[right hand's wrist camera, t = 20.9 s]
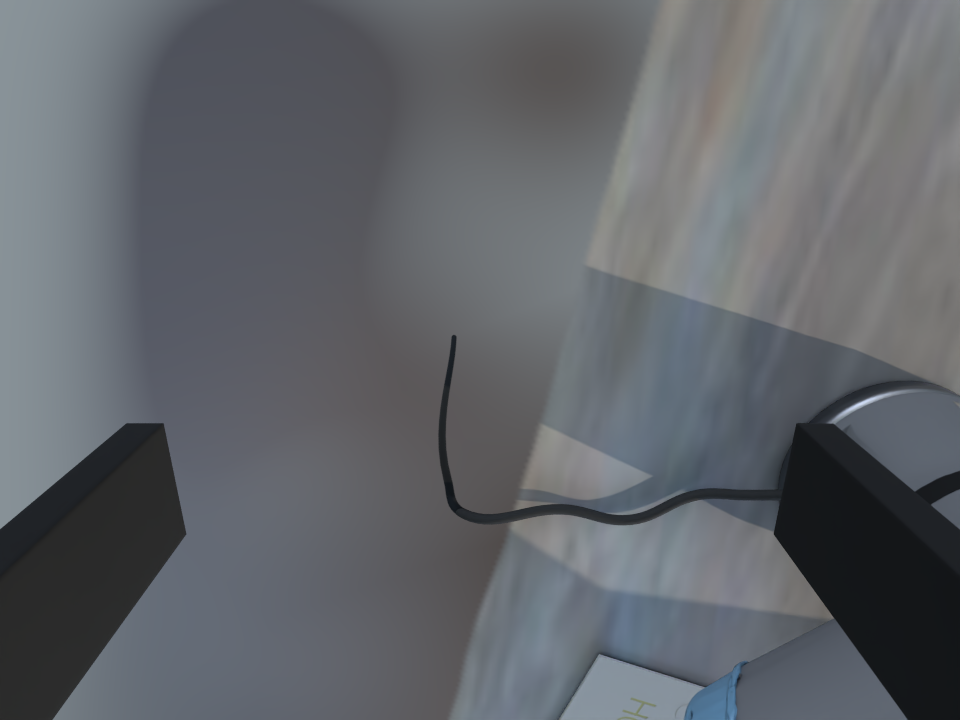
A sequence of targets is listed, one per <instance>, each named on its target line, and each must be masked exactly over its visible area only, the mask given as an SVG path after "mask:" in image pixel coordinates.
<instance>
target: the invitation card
mask: <svg viewBox="0 0 960 720" xmlns="http://www.w3.org/2000/svg"><path fill="white" fill-rule="evenodd" d="M704 688H705V687H702V686H699V685H696V684H693V683H690V682H686V681H683V680H680V679H677V678H674V677H670V676H667V675H664V674H661V673H658V672H654V671H651V670H648V669H645V668H642V667H639V666H635V665H632V664H629V663H626V662H623V661H619V660H616V659H613V658H610V657H607V656H604V655H600V654H599V655H598V657H597V658H596V660H595V662H594V663H593V665H592V666H591V668H590V670H589V671H588V673H587V675H586V676H585V678H584V679H583V681H582V683H581V684H580V686H579V688H578V689H577V691H576V692H575V694H574V696H573V697H572V699H571V701H570V702H569V704H568V705H567V707H566V709H565V710H564V712H563V714H562V715H561V717H560V718H559V720H684V716H685V711H686V708H687V706H688V704H689V702H690V701H691V699H692V698H693V697H694V695H695V694H696V693H698V692H699V691H700V690H702V689H704Z"/></svg>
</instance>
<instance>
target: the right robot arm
mask: <svg viewBox="0 0 960 720" xmlns="http://www.w3.org/2000/svg"><path fill="white" fill-rule="evenodd" d="M456 340H457V337H456V335H452V337H451V348H450V355H449V361H448V367H447V372H446V378H445V383H444V389H443V394H442V400H441V407H440V416H439V430H438V445H439V457H440V466H441V471H442V476H443V480H444V485H445V492H446V498H447V502H448V505H449V507H450V508H451V510H452V511H453V512H454V513H455V514H456V515H458V516H459V517H461V518H463V519H465V520H467V521H470V522H474V523H478V524H502V523H508V522H513V521H518V520H522V519H527V518H531V517H537V516H543V515H553V514H564V515H573V516H578V517H583V518H587V519H590V520H594V521H597V522H601V523H606V524H612V525H633V524H639V523H643V522H647V521H650V520H652V519H655V518H657V517H659V516H661V515H663V514H665V513H667V512H669V511H671V510H673V509H675V508H677V507H679V506H681V505H683V504H686V503H689V502H692V501H696V500H702V499H730V500H779V502H780V506H779V511H778V516H777V521H776V525H775V530H774V535H775V537H776V538H777V539H778V541H779V542H780V544H781V545H782V546H783V548H784V549H785V551H786V552H787V553H788V555H789V556H790V557H791V559H792V560H793V562H794V563H795V564H796V566H797V567H798V569H799V570H800V571H801V573H802V574H803V575H804V577H805V578H806V580H807V581H808V582H809V584H810V585H811V587H812V588H813V589H814V591H815V592H816V593H817V595H818V596H819V598H820V599H821V600H822V602H823V603H824V605H825V606H826V607H827V609H828V610H829V611H830V613H831V614H832V616H833V617H834V619H832V620H831V621H829V622H827V623H825V624H823V625H821V626H819V627H817V628H815V629H813V630H811V631H809V632H807V633H805V634H803V635H801V636H799V637H798V638H796V639H794V640H792V641H790V642H788V643H786V644H784V645H782V646H780V647H778V648H776V649H774V650H772V651H770V652H768V653H766V654H765V655H763V656H761V657H759V658H757V659H755V660H753V661H751V662H747V661H743V662H740V663H739V664H737V665H736V666H735V667H734V669H733V671H732V672H730V673H729V674H727V675H725V676H724V677H722V678H720V679H719V680H717V681H715V682H714V683H712V684H710V685H709V686H707V687H705V688H704V689H702V690H700V691H699V692H698V693H696V694H695V695H694V697H693V698H692V699H691V701H690V702H689V704H688V706H687V708H686V711H685V716H684V720H960V396H959V395H957V394H956V393H954V392H952V391H950V390H948V389H946V388H943V387H941V386H937V385H934V384H930V383H924V382H916V381H897V382H888V383H883V384H878V385H874V386H871V387H867V388H864V389H862V390H859V391H856V392H854V393H852V394H850V395H847V396H845V397H844V398H842V399H840V400H838V401H836V402H835V403H833V404H832V405H830V406H829V407H827V408H826V409H825V410H823V411H822V412H821V413H819V414H818V415H817V416H816V417H815V418H814V419H813V420H812V421H810V423H797V424H796V428H795V433H794V438H793V443H792V445H791V447H790V449H789V451H788V453H787V455H786V457H785V460H784V462H783V465H782V469H781V472H780V477H779V487H778V490H733V489H716V488H711V489H700V490H694V491H690V492H686V493H683V494H681V495H678V496H676V497H674V498H671V499H669V500H667V501H666V502H664V503H662V504H660V505H658V506H656V507H654V508H652V509H650V510H647V511H644V512H641V513H637V514H632V515H612V514H606V513H602V512H598V511H595V510H591V509H587V508H583V507H579V506H574V505H564V504H551V505H541V506H535V507H530V508H525V509H520V510H516V511H511V512H506V513H500V514H479V513H475V512H471V511H469V510H466V509H464V508H463V507H461V506H460V505H459V503H458V502H457V500H456V497H455V493H454V487H453V482H452V478H451V473H450V469H449V465H448V458H447V450H446V418H447V407H448V399H449V392H450V385H451V379H452V373H453V367H454V360H455V352H456ZM185 535H186V531H185V525H184V521H183V516H182V511H181V506H180V501H179V496H178V492H177V487H176V482H175V477H174V472H173V467H172V462H171V458H170V453H169V448H168V443H167V438H166V433H165V429H164V424H163V423H127V424H125V425H124V426H123V427H122V428H121V429H119V430H118V431H117V432H116V433H115V434H113V435H112V436H111V437H110V438H109V439H107V440H106V441H105V442H104V443H103V444H101V445H100V446H99V447H98V448H97V449H95V450H94V451H93V452H92V453H91V454H90V455H88V456H87V457H86V458H85V459H84V460H82V461H81V462H80V463H79V464H78V465H76V466H75V467H74V468H73V469H72V470H70V471H69V472H68V473H67V474H66V475H64V476H63V477H62V478H61V479H60V480H58V481H57V482H56V483H55V484H54V485H53V486H51V487H50V488H49V489H48V490H47V491H45V492H44V493H43V494H42V495H41V496H39V497H38V498H37V499H36V500H35V501H33V502H32V503H31V504H30V505H29V506H27V507H26V508H25V509H24V510H23V511H21V512H20V513H19V514H18V515H17V516H16V517H14V518H13V519H12V520H11V521H10V522H8V523H7V524H6V525H5V526H4V527H2V528H1V529H0V720H52V719H53V718H54V717H55V715H56V714H57V713H58V711H59V710H60V708H61V707H62V706H63V704H64V703H65V701H66V700H67V699H68V697H69V696H70V695H71V693H72V692H73V690H74V689H75V688H76V686H77V685H78V684H79V682H80V681H81V679H82V678H83V677H84V675H85V674H86V672H87V671H88V670H89V668H90V667H91V665H92V664H93V663H94V661H95V660H96V659H97V657H98V656H99V654H100V653H101V652H102V650H103V649H104V648H105V646H106V645H107V643H108V642H109V641H110V639H111V638H112V636H113V635H114V634H115V632H116V631H117V629H118V628H119V627H120V625H121V624H122V623H123V621H124V620H125V618H126V617H127V616H128V614H129V613H130V611H131V610H132V609H133V607H134V606H135V605H136V603H137V602H138V600H139V599H140V598H141V596H142V595H143V593H144V592H145V591H146V589H147V588H148V586H149V585H150V584H151V582H152V581H153V580H154V578H155V577H156V575H157V574H158V573H159V571H160V570H161V569H162V567H163V566H164V564H165V563H166V562H167V560H168V559H169V557H170V556H171V555H172V553H173V552H174V550H175V549H176V548H177V546H178V545H179V544H180V542H181V541H182V539H183V538H184V537H185Z"/></svg>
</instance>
